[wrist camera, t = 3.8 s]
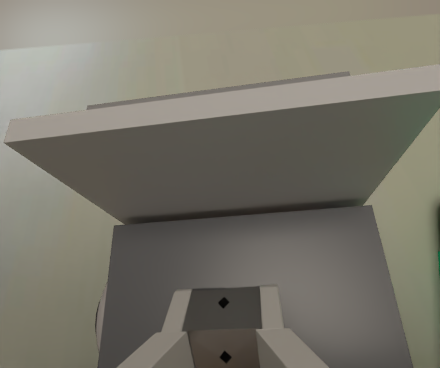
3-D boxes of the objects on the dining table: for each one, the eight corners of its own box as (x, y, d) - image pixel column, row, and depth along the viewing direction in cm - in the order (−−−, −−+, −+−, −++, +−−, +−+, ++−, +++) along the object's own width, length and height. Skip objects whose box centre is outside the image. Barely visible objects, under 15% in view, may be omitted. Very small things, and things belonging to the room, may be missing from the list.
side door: (154, 248, 21) (-4, 146, 9) (155, 225, 21) (10, 101, 9) (344, 235, 19) (464, 90, 7) (339, 211, 20) (442, 42, 8)
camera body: (131, 391, 18) (56, 428, 12) (141, 254, 21) (87, 226, 15) (368, 389, 16) (429, 431, 10) (339, 241, 20) (371, 204, 13)
